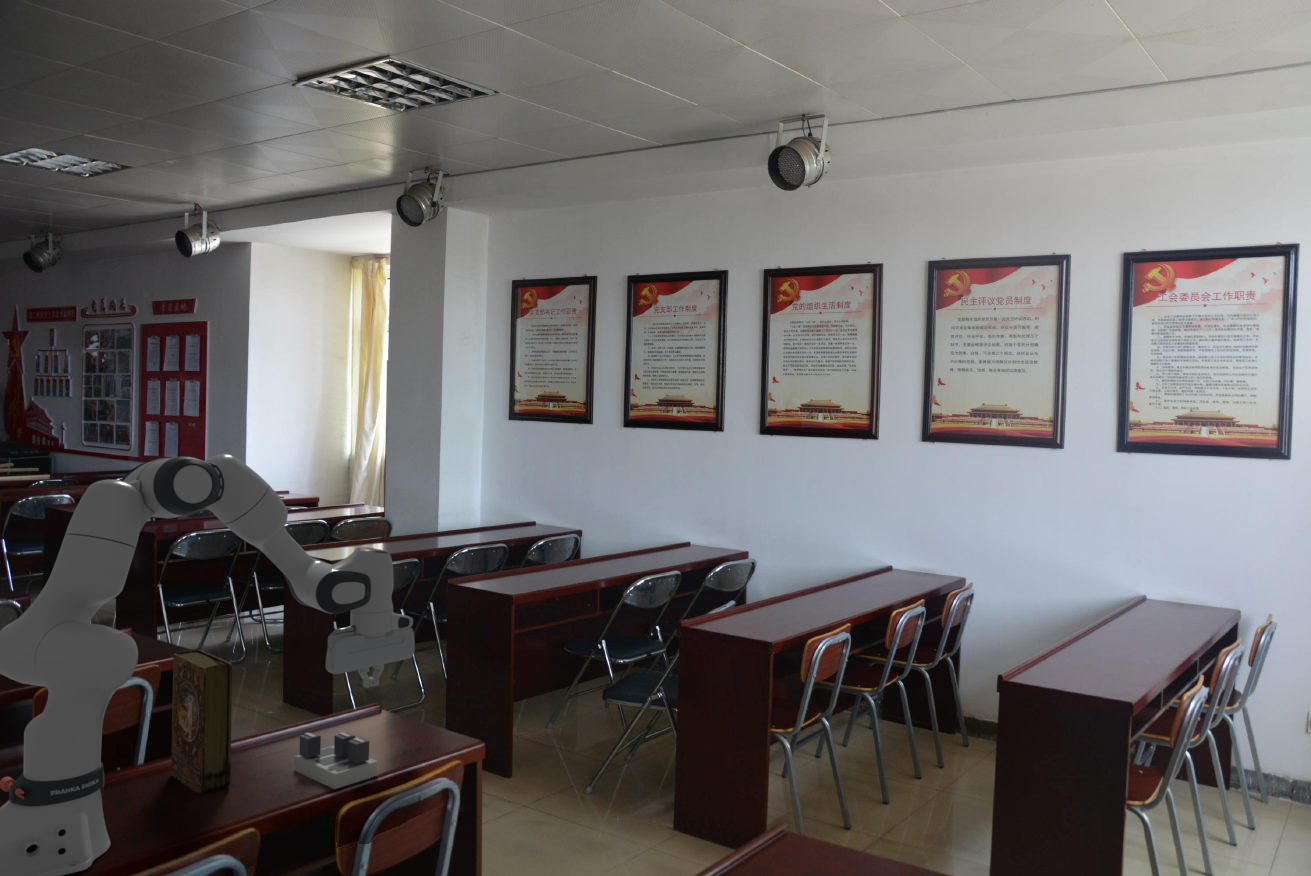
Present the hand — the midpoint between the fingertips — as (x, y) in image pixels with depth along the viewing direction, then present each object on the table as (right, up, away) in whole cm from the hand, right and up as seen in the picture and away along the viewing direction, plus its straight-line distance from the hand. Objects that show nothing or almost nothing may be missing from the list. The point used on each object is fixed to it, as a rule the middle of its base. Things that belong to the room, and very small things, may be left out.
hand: (370, 686), depth 204 cm
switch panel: (-5, -17, -6) cm, 18 cm away
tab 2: (0, -13, -8) cm, 15 cm away
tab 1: (-11, -13, -5) cm, 18 cm away
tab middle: (-4, -13, -5) cm, 15 cm away
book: (-31, -16, -12) cm, 37 cm away
